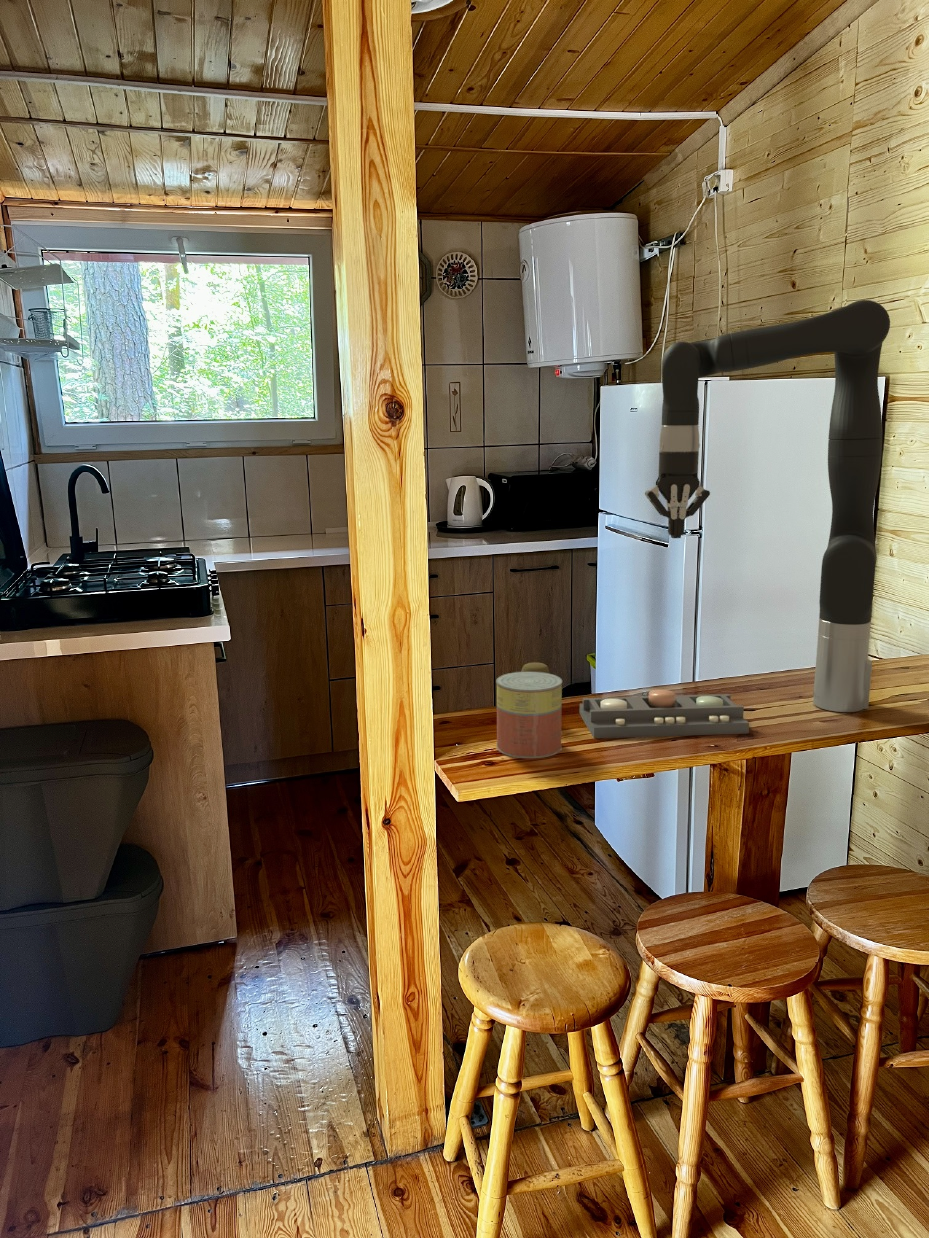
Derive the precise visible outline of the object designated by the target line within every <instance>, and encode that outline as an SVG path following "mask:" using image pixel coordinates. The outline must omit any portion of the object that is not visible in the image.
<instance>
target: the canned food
mask: <svg viewBox="0 0 929 1238" xmlns="http://www.w3.org/2000/svg"><path fill="white" fill-rule="evenodd" d="M495 683H496V749H497V750H498V752H499V753H501V754H503V755H505V756H508V757H512V758H518V759H543V758H548V757H552V756H554V755H557V754H558V753H560V751H561V750H562V748H563V747H562V711H563V710H562V707H563V706H562V705H563V704H562V700H563V699H562V698H563V697H562V696H563V694H562V693H563V688H562V687H563V679H562V678H561V677H560V676H558V675H557V674H552V673H550V672H549V673H544V672H532V671H525V672H521V671H513V672H509V673H505V674H502V675H500V676H498V677H497V678H496V680H495Z"/></svg>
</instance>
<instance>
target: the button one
mask: <svg viewBox="0 0 929 1238" xmlns="http://www.w3.org/2000/svg"><path fill="white" fill-rule="evenodd" d="M600 709H601V710H603V709H627V702H626V701H624V700H621V699H604V700H602V701H601V706H600Z"/></svg>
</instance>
